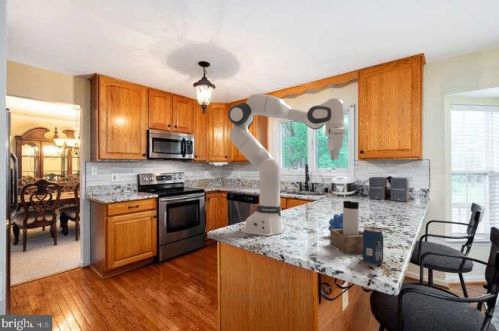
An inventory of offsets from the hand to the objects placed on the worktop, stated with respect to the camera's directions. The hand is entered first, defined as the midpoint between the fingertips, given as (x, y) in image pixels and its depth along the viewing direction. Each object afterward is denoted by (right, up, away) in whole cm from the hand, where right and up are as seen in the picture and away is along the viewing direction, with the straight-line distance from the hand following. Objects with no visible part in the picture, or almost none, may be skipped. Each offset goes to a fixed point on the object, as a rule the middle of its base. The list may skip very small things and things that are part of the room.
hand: (334, 159), depth 116 cm
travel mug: (+2, -38, -15) cm, 41 cm away
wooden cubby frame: (+2, -39, -14) cm, 41 cm away
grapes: (+4, -39, +3) cm, 39 cm away
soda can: (+4, -39, -29) cm, 49 cm away
